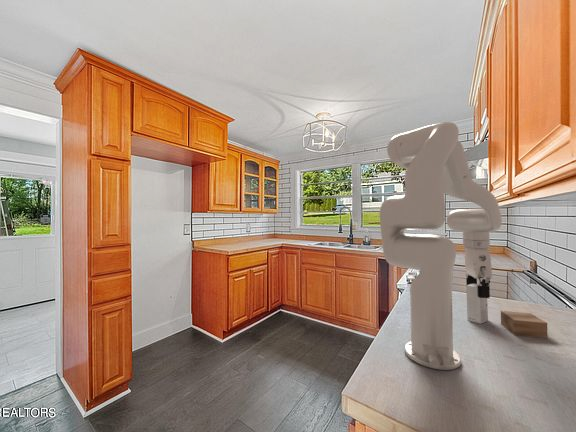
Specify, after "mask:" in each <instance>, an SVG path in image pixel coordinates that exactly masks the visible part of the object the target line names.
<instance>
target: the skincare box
mask: <svg viewBox="0 0 576 432" xmlns="http://www.w3.org/2000/svg"><path fill="white" fill-rule="evenodd" d="M477 285H479V284H478V283H477V284H474V283H473V284H469V285H467V286H466V285H465V286H466V289H465V291H466V317H467V318H466V319H467V321H469V322H473V323H476V324H479V325H481V324H483V323H486V322H488V321H489V314H488V313H489V312H488V311H489V309H488V307H489V306H488V298H479V297H478V287H477Z"/></svg>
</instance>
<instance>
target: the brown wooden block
mask: <svg viewBox="0 0 576 432" xmlns="http://www.w3.org/2000/svg"><path fill="white" fill-rule="evenodd" d="M500 324H501V326H503V327H504V328H505V329H507V330H508V331H509V332H510V333H512V334H513V335H514V336H522V337H532V338H539V339H540V338H542V339H548V322H546V321H545V320H543V319H541V318H539V317H538V316H536V315H534V314H532V313H531V312H521V311H520V312H519V311H507V310H500Z"/></svg>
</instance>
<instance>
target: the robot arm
mask: <svg viewBox="0 0 576 432" xmlns="http://www.w3.org/2000/svg"><path fill="white" fill-rule="evenodd" d="M459 135H460V133H459V128H458V126H457V124H456V123H453V122H448V121H447V122H439V123H434V124H432V125H431V124H430V125H426V126H422V127H420V128H416V129H414V130H410V131H406V132H403V133H399V134H397V135H394V136H393V137H392V138H391V139H390V140H389V141H388V144H387V147H386V152H387V155H388V158H389V159H390V161H391V162H392V163H393V164H395V165H396V166H398V167H400V168H403V169H404V170H406V172H405V174H404V188H405V190H404V191H405V194H401V195H392V196H389V197H387V198H385V199H384V200H383V202H382V203H381V205H380V208H379V209H380V210H379V225H380V227H379V228H380V234H381V245H382V251H383V256H384V259H385V261H386V262H387V263H388V264H389V265H391V266H394V267H398V268H405V269H409V270H410V269H411V270H415V271H418V272H419V273H418V274H417V275H416V277H414V279H413V280H412V282H411V283H410V287H409V296H410V298H409V300H410V303H409V305H410V341H408V342H407V343H406V344H405V345H404V352H405V355H406V356H407V357H408V358H409V359H410V360H412V361H414V362H415V363H417V364H419V365H421V366H424V367H427V368H430V369H435V370H441V371H450V370H455V369H457V368H459V367H460V366H461V364H462V362H461V361H462V360H461V359H462V358H461V356H460V354H459V353H457V352H456V351H455V350H454V332H453V329H454V326H453V323H454V322H453V274H454V273H453V272H454V269H455V268H454V267H455V262H456V255H457V252H456V251H457V249H456V245H455V244H454V242H453V241H452V240H451V239H449V238H448V237H445V236H443V235H439V234H427V233H425V234H424V233H416V234H415V233H405V232H404V231H405V230H406V231H431V230H438V229H439V228H441V227H443V225H444V224H445V220H446V224H447V227H448V228H449V229H450V230H452V231H454V232H462V248H463V249H464V250H465V252H464V265H465V266H464V269H465V273H466V274H465V277H466V279H465V282H466V284H465V286H467V285H469V284H473V283H474V284H479V285H477V287H478V297H479V298H487V299H490V297H491V295H490V292H491V291H490V287H491V284H490V283H491V280H492V278H493V269H492V260H491V259H492V258H491V254H490V250H491V246H490V245H491V244H490V241H491V240H490V233H493V232H497V231H498V230H500V228H501V226H502V214H501V210H500V206H499V203H498V199H497V198H496V197H495V195H494V194H493V193H492V192H491V191H490V190H488V189H487V188H486V187H484V186H483V185H482V184H480V183H477V182H475V180H473V177H472V174H471V171H470V167H469V164H468V159H467V156H466V153H465V149H464V146H463V144H462V143H461V141H460V140H459ZM445 195H447V196H449V197H453V198H456V199H460V200H464V201H467V202H471V203H472V204H475V205H477V206H479V207H480V208H467V209H466V208H462V209H459V208H458V209H454V210H452V211H451V210H450V212H449V213H448V215H447V217H446V205H445Z"/></svg>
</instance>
